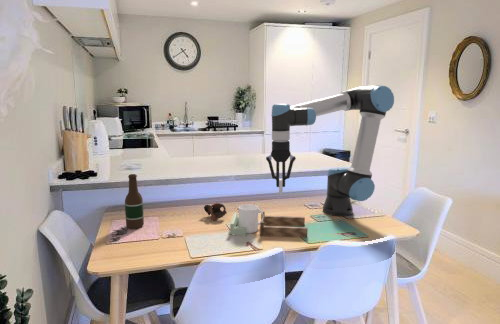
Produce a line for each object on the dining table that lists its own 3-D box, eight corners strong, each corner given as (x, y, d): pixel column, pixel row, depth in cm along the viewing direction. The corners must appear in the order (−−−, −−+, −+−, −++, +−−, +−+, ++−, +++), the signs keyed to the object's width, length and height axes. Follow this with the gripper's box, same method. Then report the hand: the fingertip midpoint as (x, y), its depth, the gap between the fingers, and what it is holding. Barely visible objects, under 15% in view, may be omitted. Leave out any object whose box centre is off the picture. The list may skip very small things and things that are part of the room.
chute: (304, 225, 166) (304, 212, 165) (307, 237, 151) (307, 224, 150) (261, 223, 167) (261, 211, 166) (260, 235, 153) (260, 222, 152)
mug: (267, 230, 159) (268, 207, 157) (243, 235, 154) (243, 211, 152) (259, 224, 166) (259, 202, 164) (235, 228, 161) (235, 205, 159)
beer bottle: (127, 230, 157) (124, 177, 153) (124, 224, 164) (121, 173, 160) (145, 227, 161) (143, 175, 156) (142, 222, 168) (139, 172, 163)
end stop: (247, 223, 168) (247, 213, 167) (245, 235, 153) (245, 224, 152) (234, 222, 168) (234, 212, 167) (230, 234, 153) (230, 223, 153)
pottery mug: (228, 215, 180) (230, 204, 174) (221, 229, 173) (222, 218, 167) (207, 207, 182) (207, 196, 177) (198, 221, 175) (199, 209, 170)
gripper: (295, 139, 155) (295, 191, 160) (265, 139, 156) (265, 191, 161) (296, 141, 148) (296, 196, 153) (265, 141, 149) (265, 196, 153)
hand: (280, 194), depth 157 cm, fingers closed
